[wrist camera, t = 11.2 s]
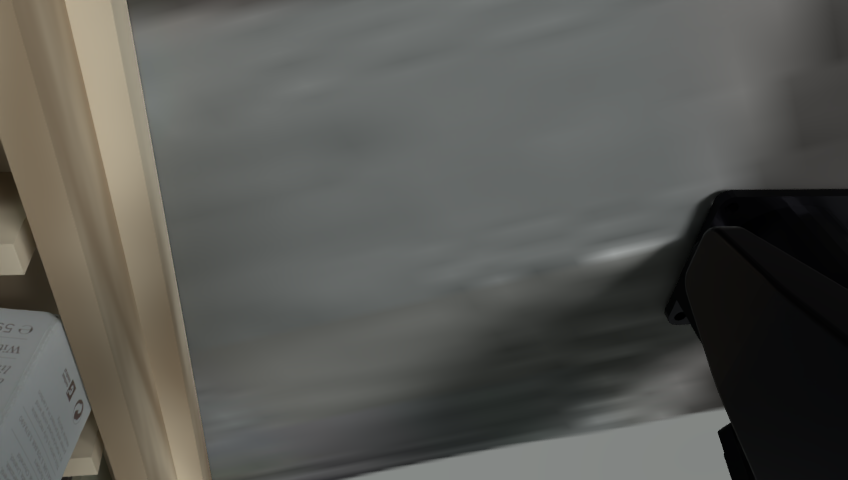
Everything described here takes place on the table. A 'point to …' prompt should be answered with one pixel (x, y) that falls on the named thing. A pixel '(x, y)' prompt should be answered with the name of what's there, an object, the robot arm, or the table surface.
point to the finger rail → (95, 234)
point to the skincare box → (38, 396)
